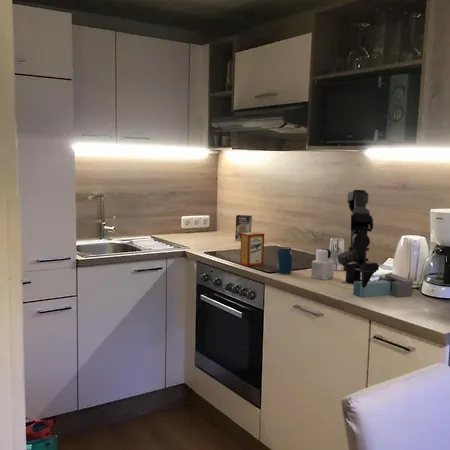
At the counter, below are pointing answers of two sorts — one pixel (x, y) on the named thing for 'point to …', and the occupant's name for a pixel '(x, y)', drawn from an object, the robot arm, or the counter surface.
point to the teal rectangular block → (372, 288)
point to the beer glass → (336, 251)
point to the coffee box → (242, 225)
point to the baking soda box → (252, 248)
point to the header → (399, 285)
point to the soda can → (284, 260)
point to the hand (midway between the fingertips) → (356, 284)
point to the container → (322, 265)
